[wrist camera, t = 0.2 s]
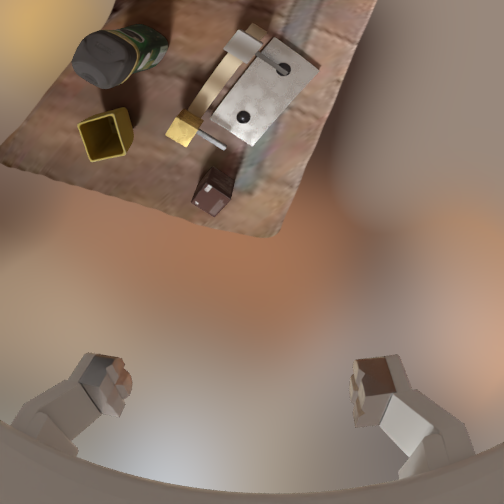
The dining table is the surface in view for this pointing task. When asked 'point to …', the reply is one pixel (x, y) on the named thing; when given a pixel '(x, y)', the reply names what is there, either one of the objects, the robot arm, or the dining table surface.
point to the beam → (232, 66)
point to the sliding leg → (189, 130)
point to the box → (213, 192)
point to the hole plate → (263, 92)
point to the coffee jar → (118, 54)
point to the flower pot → (107, 134)
